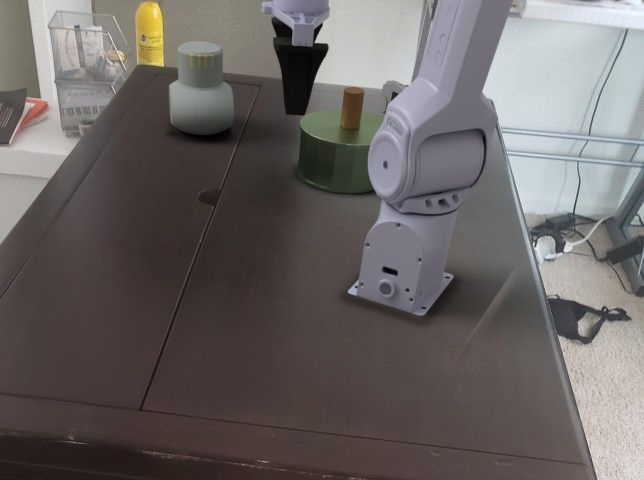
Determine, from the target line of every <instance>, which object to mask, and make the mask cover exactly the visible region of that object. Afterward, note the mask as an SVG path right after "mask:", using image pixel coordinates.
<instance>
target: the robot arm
mask: <svg viewBox="0 0 644 480" xmlns="http://www.w3.org/2000/svg"><path fill="white" fill-rule="evenodd" d="M513 2H514V0H437V4H436V8H435V11H434V15H433V18H432V22H431V26H430V30H429V34H428V37H427V41H426V44H425V48H424V52H423V55H422V59H421V63H420V66H419V70H418V74H417V77H416V78H415V79H414V80H413V81H412V82H411V83H410V84H408V85H409V86H408V87H406V88H405V89H404V90H403V91H402V92H401V93H400V94H399V95H397V96H396V97H395V98H394V99H393V100H392V101H391V102H390V103H389V104H388V106H387V109H386V113H385V117H384V120H383V123H382V125H381V127H380V128H379V130H378V131H377V132H376V134H375V136H374V138H373V140H372V143H371V146H370V149H369V154H368V173H369V177H370V181H371V184H372V186H373V188H374V190H373V191H374V192H375V194H376V196H377V197H379V198H380V199H381V200H380V206H379V207H380V208H379V213H378V218H377V219H376V222H375V223H374V224H373V225H372V227H371V228H370V229H369V231H368V233H367V235H366V237H365V240H364V243H363V250H362V257H361V263H360V270H359V276H358V279H357V280H356V282H355V283H354V284H353V285H352V286H351V287H350V288H349V289H348V290H347V293H348V294H350V295H352V296H356V297H359V298H361V299H364V300H365V299H366V300H368V301H372V302H375V303H378V304H381V305H383V306H384V305H385V306H388V307H391V308H394V309H397V310H400V311H403V312H406V313H409V314H413V315H415V316H421V317H423V316H424V315H426V314H427V312H428V311H429V310H430V309H431V307H432V306H433V304H434V303H435V302H436V301H437V300H438V298H439V297H440V296H441V294H442V293H443V292H444V290H445V289H446V288H447V287H448V286H449V284H450V283H451V281H452V280H453V279H454V277H455V276H454V275H453V274H452V273H449V272H446V271H445V269H446V265H447V260H448V256H449V252H450V248H451V245H452V239H453V236H454V231H455V227H456V224H457V219H458V214H459V211H460V206H461V204H462V203H464V202H466V201H468V198H469V194H470V190H471V189H473V188H475V187H477V186H479V184H480V183H482V182H483V180H484V178H485V176H486V175H487V173H488V170H489V167H490V163H491V159H492V143H493V142H492V141H493V135H494V132H495V129H496V127H497V123H498V120H499V116H498V114H497V112H496V110H495V108H494V106H493V105H492V102H490V100H489V98H488V97H487V96H486V95H485V94H484V93H483V90H484V87H485V85H486V81H487V79H488V75H489V73H490V70H491V68H492V64H493V61H494V59H495V55H496V53H497V50H498V46H499V44H500V41H501V38H502V35H503V31H504V29H505V26H506V23H507V20H508V18H509V15H510V11H511V8H512V5H513ZM329 4H330V0H273V1H262V2H261V13H262V14H265V15H272V17H271V25H272V28H273V30H274V34H275V36H273V38H272V46H273V49H274V53H275V55H276V57H277V61H278V64H279V68H280V73H281V82H282V84H281V85H282V95H283V105H284V111H285V112H284V113H285V115H287V116H301V117H304V116H306V114H307V111H308V108H309V103H310V99H311V95H312V92H313V87H314V84H315V80H316V77H317V74H318V73H319V70H320V68H321V65H322V64H323V61H324V60H325V59H326V57H327V55H328V53H329V49H330V46H329V43H324V42H316V40H317V38H318V36H319V34H320V32H321V30H322V28H323V26H324V22H325V21H327V20H328V19H329V18H330V15H331V7H330V6H329ZM356 287H357V288H356ZM424 308H425V309H424Z"/></svg>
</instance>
